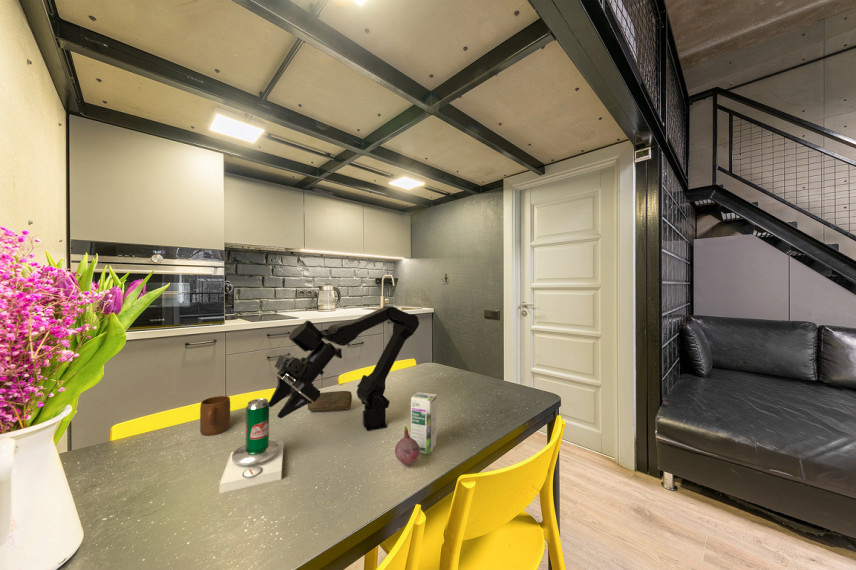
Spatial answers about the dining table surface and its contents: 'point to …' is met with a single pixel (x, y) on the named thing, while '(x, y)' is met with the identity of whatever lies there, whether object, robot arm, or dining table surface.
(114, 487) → the dining table surface
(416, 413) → the syrup box
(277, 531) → the dining table surface
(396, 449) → the vegetable
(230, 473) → the kitchen scale
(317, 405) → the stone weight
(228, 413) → the mug
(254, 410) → the soda can
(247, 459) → the scale pan
